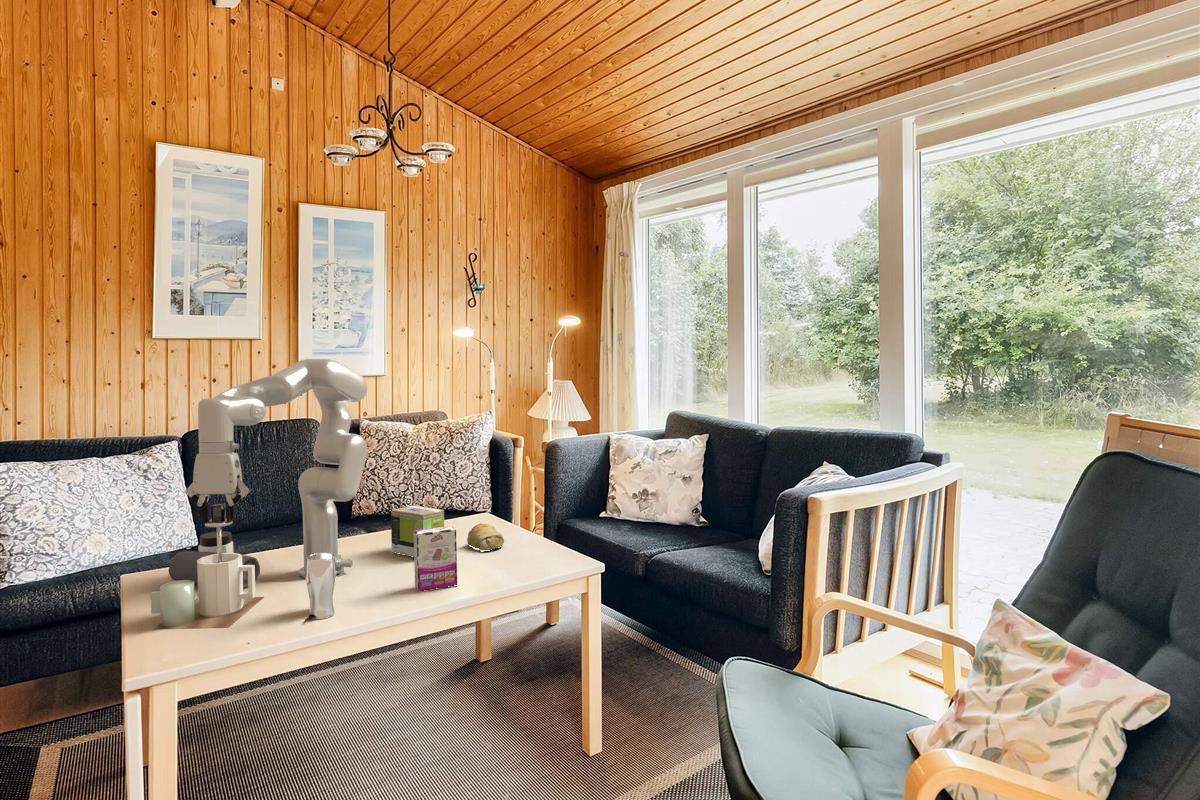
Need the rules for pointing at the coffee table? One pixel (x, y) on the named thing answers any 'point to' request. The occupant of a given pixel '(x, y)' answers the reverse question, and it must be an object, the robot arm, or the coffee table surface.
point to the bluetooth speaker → (186, 566)
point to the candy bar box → (435, 558)
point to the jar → (210, 542)
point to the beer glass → (320, 584)
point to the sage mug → (174, 603)
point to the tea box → (412, 525)
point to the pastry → (485, 537)
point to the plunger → (218, 525)
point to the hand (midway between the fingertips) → (218, 520)
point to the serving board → (216, 621)
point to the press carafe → (223, 584)
